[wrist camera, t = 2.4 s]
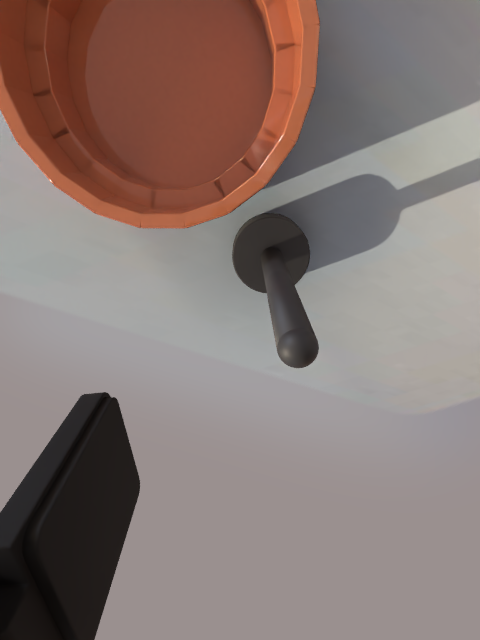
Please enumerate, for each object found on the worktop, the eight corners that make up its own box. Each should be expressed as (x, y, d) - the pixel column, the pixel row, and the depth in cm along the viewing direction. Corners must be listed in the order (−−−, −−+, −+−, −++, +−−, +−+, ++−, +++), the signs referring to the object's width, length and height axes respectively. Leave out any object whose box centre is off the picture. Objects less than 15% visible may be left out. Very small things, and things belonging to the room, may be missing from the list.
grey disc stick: (279, 197, 25) (329, 244, 10) (319, 258, 27) (410, 373, 12) (218, 242, 26) (187, 340, 12) (260, 297, 28) (278, 445, 13)
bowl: (191, -175, 18) (168, -322, 13) (347, 115, 23) (380, 99, 18) (-12, 49, 22) (-98, 11, 16) (159, 258, 27) (137, 282, 21)
